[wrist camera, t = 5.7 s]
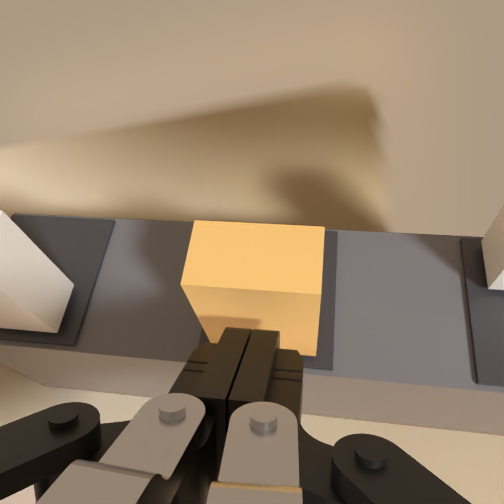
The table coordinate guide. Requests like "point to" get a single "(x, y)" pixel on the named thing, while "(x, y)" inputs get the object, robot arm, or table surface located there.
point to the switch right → (494, 253)
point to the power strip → (329, 331)
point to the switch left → (29, 283)
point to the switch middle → (256, 279)
